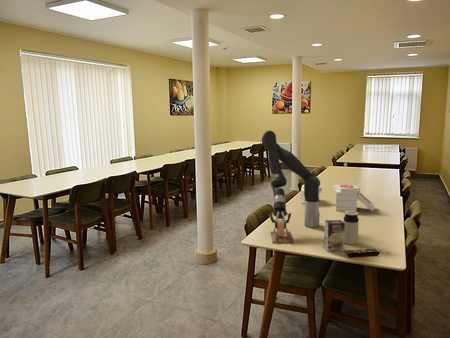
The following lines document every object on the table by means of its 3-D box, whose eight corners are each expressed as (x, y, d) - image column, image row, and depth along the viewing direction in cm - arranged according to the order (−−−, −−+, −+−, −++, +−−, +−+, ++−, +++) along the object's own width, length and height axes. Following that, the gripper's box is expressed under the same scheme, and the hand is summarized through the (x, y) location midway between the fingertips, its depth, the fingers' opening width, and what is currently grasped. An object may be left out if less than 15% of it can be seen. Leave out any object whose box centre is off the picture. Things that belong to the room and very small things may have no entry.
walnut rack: (289, 232, 219) (289, 228, 219) (293, 243, 202) (293, 238, 201) (270, 232, 220) (270, 228, 220) (272, 243, 203) (272, 238, 202)
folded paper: (301, 184, 285) (322, 186, 281) (302, 179, 308) (322, 181, 304) (299, 204, 288) (320, 207, 284) (300, 197, 311) (320, 200, 307)
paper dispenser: (375, 213, 257) (376, 190, 254) (333, 211, 266) (333, 188, 263) (372, 207, 275) (373, 185, 272) (333, 205, 284) (333, 183, 281)
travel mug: (360, 244, 198) (361, 214, 195) (346, 245, 197) (347, 214, 194) (353, 239, 205) (355, 210, 203) (340, 240, 205) (341, 211, 202)
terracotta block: (283, 233, 212) (283, 220, 211) (283, 235, 208) (284, 222, 207) (276, 232, 213) (277, 220, 211) (277, 235, 209) (277, 222, 207)
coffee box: (327, 252, 188) (328, 223, 186) (323, 247, 194) (324, 220, 192) (344, 251, 188) (345, 223, 186) (339, 247, 195) (340, 219, 192)
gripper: (268, 200, 215) (269, 225, 205) (291, 201, 214) (293, 226, 204) (267, 206, 221) (268, 231, 211) (290, 207, 220) (292, 231, 210)
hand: (280, 228), depth 208 cm, fingers closed on terracotta block, 4 cm apart
